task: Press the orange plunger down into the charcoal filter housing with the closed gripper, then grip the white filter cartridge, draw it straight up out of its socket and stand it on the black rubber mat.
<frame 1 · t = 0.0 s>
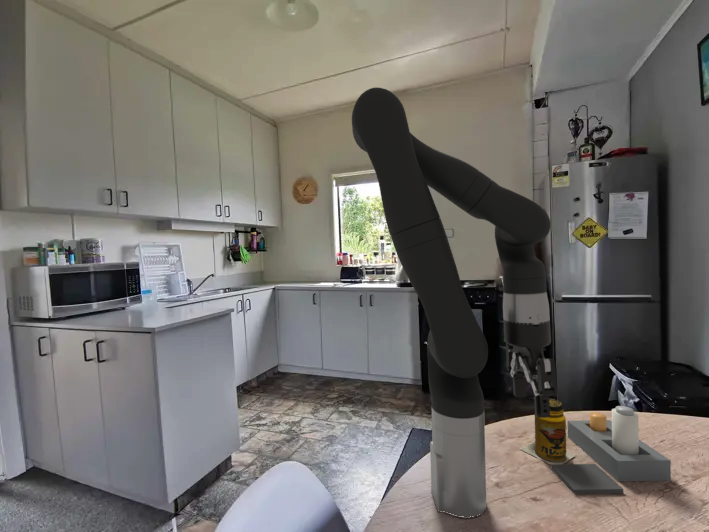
hand: (530, 406, 64), 17 cm above the table, tool pointing down, fingers open, 8 cm apart
housing: (613, 456, 77), on the table
cartridge: (625, 465, 74), resting in housing
mat: (585, 480, 70), on the table
condiment: (547, 454, 79), on the table
plunger: (598, 426, 82), point 4 cm above the table, slide at 0.0 cm
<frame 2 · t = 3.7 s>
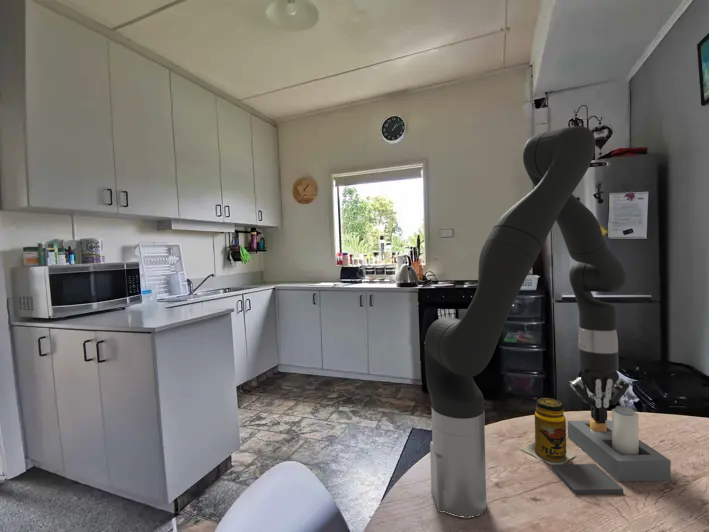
hand: (599, 421, 82), 5 cm above the table, tool pointing down, fingers closed
plunger: (598, 432, 82), point 3 cm above the table, slide at 1.5 cm, touching gripper
everything else where it was.
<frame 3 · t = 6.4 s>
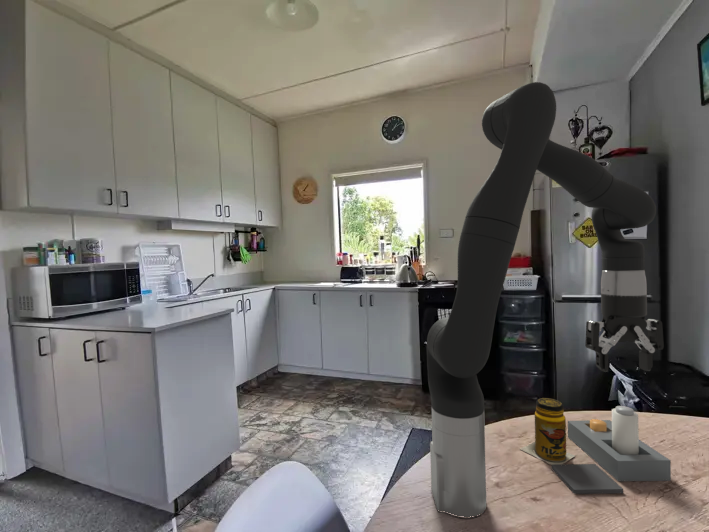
hand: (624, 370, 73), 20 cm above the table, tool pointing down, fingers open, 8 cm apart
plunger: (598, 432, 82), point 3 cm above the table, slide at 1.6 cm
everything else where it was.
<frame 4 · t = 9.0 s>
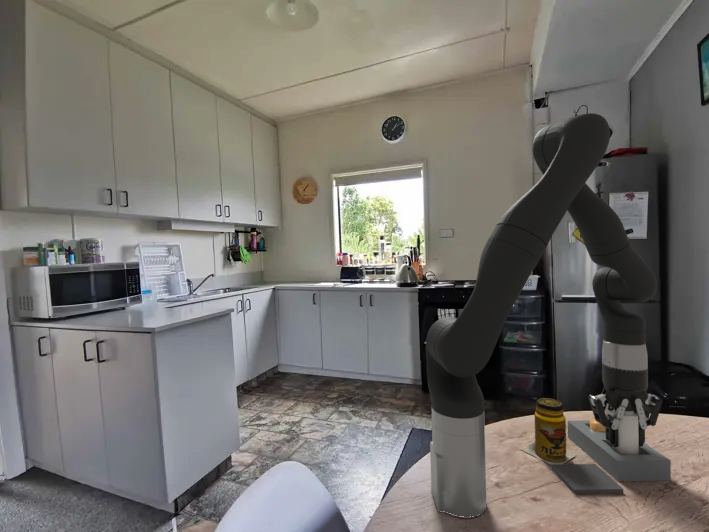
hand: (625, 444, 74), 5 cm above the table, tool pointing down, fingers closed on cartridge, 4 cm apart
cartridge: (625, 465, 74), resting in housing, touching gripper
everything else where it was.
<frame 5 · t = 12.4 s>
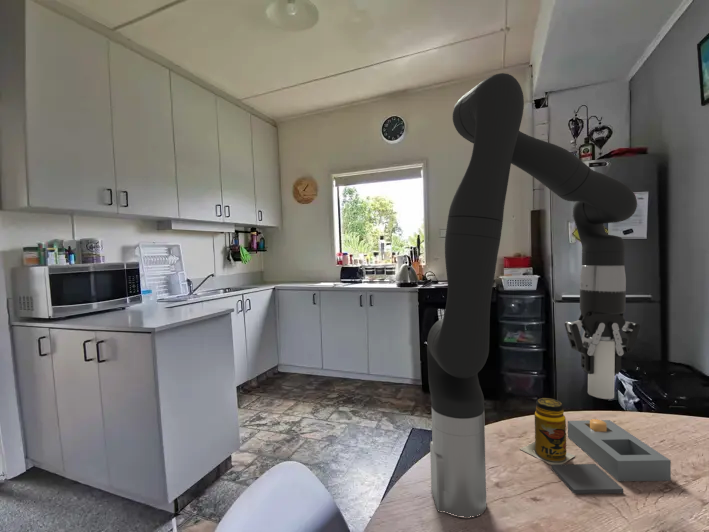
hand: (601, 372, 71), 20 cm above the table, tool pointing down, fingers closed on cartridge, 4 cm apart
cartridge: (600, 394, 72), point 16 cm above the table, touching gripper
everything else where it was.
when the fingers open (6 cm above the table, at t = 16.1 s): cartridge stays where it is, resting on mat.
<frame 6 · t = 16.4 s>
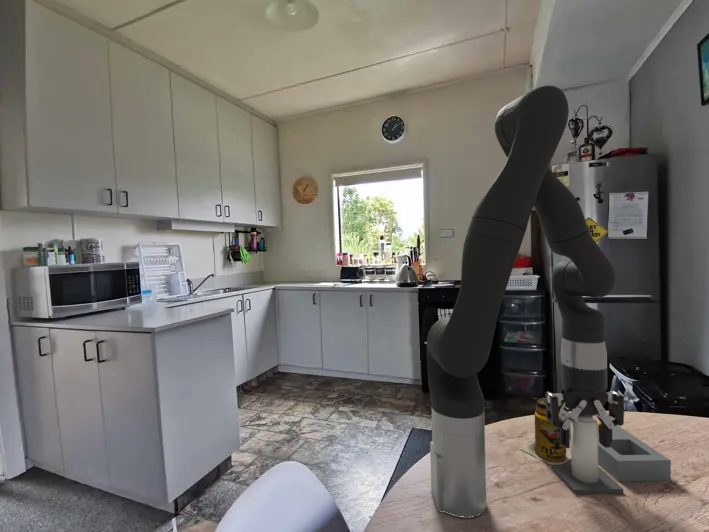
hand: (584, 445, 69), 7 cm above the table, tool pointing down, fingers open, 7 cm apart
cartridge: (584, 476, 70), point 1 cm above the table, touching mat
everything else where it was.
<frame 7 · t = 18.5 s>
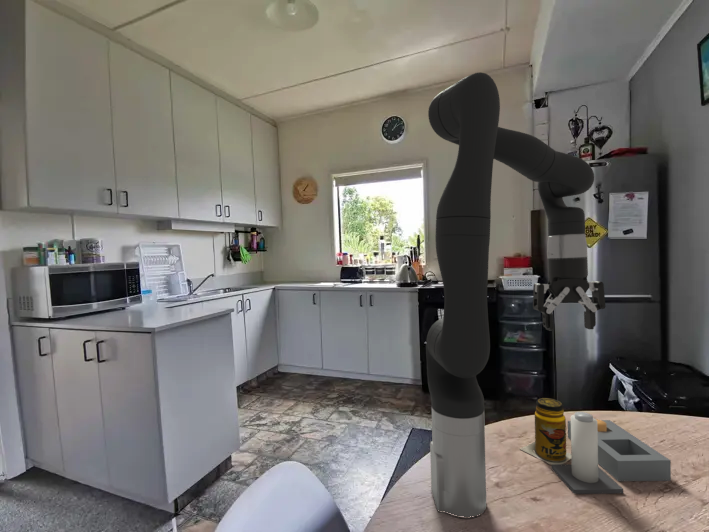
hand: (569, 329, 78), 28 cm above the table, tool pointing down, fingers open, 8 cm apart
nothing on the table moved.
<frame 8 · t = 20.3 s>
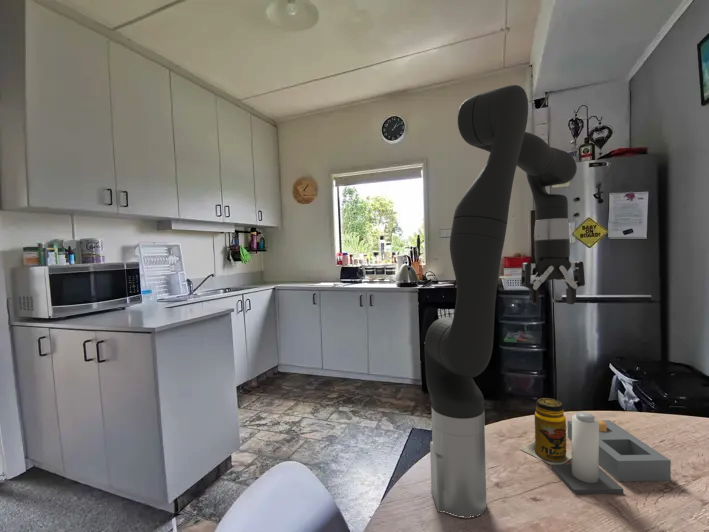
hand: (552, 304, 87), 32 cm above the table, tool pointing down, fingers open, 8 cm apart
nothing on the table moved.
at the end: plunger slide at 1.6 cm; cartridge inside the target area (0.1 cm from its centre), point 0.9 cm above the table; cartridge tilted 2° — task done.
